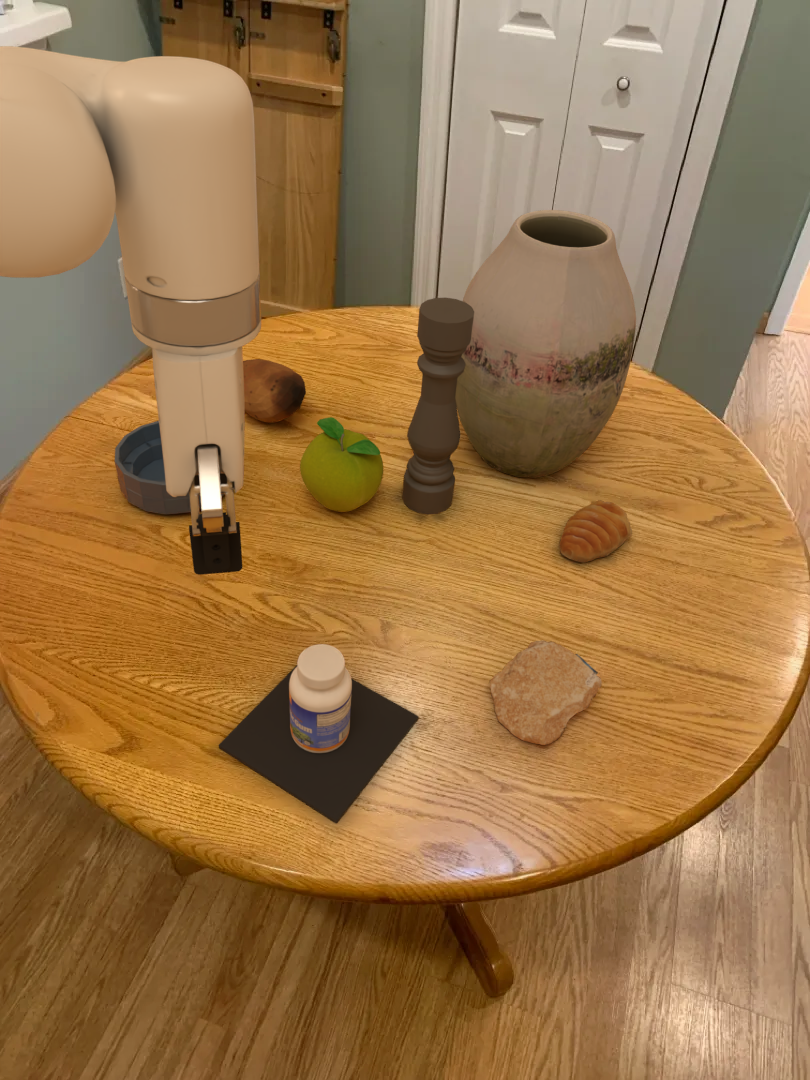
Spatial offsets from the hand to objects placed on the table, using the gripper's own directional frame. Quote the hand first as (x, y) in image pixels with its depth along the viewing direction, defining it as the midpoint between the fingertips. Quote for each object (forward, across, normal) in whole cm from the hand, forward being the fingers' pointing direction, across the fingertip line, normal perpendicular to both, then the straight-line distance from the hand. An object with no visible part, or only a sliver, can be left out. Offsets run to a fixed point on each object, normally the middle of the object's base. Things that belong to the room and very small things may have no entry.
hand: (215, 523), depth 61 cm
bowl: (+25, -37, -5) cm, 45 cm away
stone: (+24, +2, +29) cm, 38 cm away
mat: (+25, +2, +8) cm, 26 cm away
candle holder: (+24, -30, +25) cm, 46 cm away
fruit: (+25, -31, +14) cm, 42 cm away
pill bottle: (+24, +2, +8) cm, 26 cm away
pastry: (+24, -20, +43) cm, 53 cm away
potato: (+25, -51, +7) cm, 57 cm away
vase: (+24, -38, +40) cm, 60 cm away
